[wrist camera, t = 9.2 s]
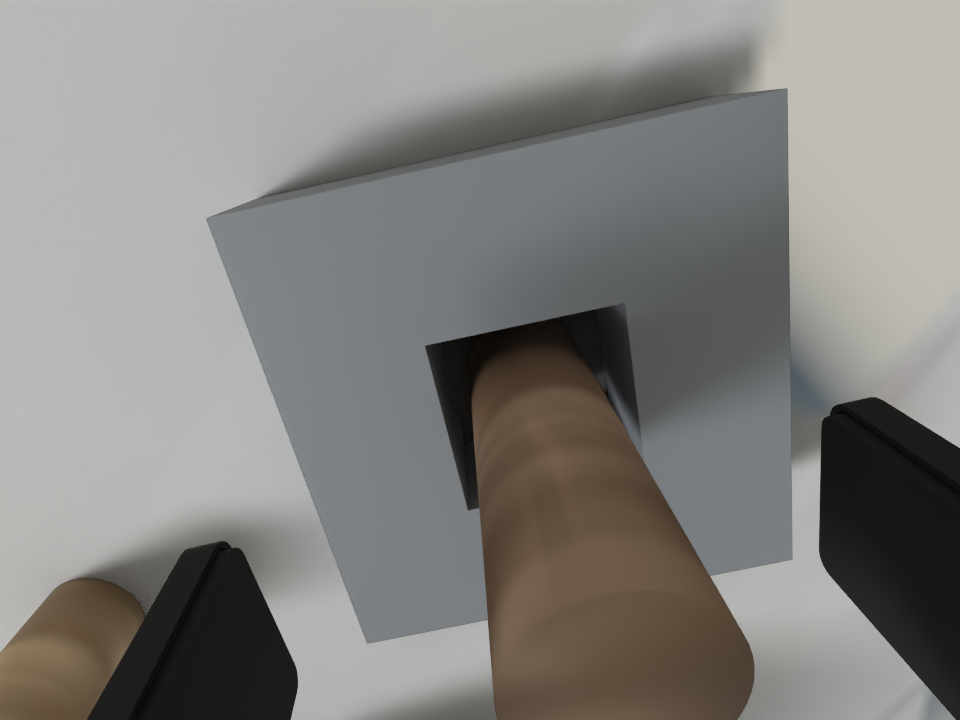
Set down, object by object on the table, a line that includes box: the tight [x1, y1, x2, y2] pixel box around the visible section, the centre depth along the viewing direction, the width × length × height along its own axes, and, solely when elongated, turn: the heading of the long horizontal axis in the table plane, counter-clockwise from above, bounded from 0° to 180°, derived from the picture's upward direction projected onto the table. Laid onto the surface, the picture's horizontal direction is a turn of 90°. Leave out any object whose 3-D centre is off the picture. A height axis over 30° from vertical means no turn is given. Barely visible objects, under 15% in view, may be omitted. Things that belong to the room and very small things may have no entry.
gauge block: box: [206, 89, 792, 644], centre depth 16 cm, size 12×12×4 cm
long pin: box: [468, 318, 754, 720], centre depth 12 cm, size 3×3×11 cm
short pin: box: [0, 579, 145, 720], centre depth 18 cm, size 3×3×5 cm
